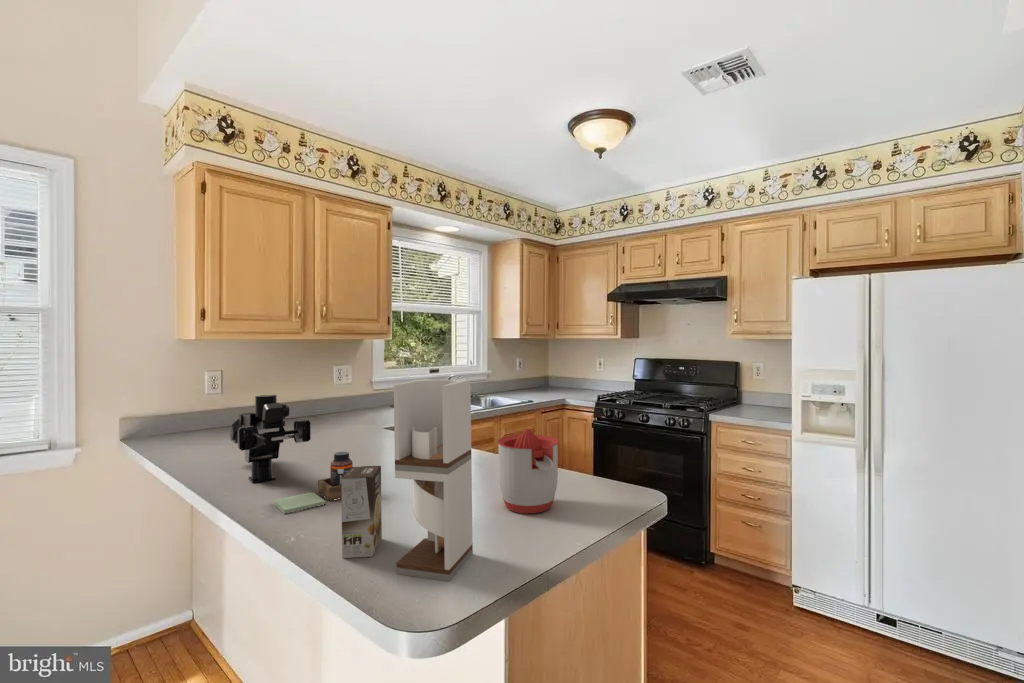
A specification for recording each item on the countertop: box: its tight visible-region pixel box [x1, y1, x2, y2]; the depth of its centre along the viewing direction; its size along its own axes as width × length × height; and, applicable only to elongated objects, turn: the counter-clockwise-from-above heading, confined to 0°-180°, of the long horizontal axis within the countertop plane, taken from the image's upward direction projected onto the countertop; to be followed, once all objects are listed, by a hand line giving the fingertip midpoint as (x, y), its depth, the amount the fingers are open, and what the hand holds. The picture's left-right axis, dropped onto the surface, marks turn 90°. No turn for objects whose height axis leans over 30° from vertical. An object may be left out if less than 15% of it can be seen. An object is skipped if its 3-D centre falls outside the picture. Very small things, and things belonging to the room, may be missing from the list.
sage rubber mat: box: [273, 491, 326, 515], centre depth 129 cm, size 10×10×1 cm
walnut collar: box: [317, 477, 342, 502], centre depth 138 cm, size 10×10×4 cm
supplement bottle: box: [330, 451, 354, 487], centre depth 138 cm, size 6×6×11 cm
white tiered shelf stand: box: [393, 378, 474, 582], centre depth 94 cm, size 11×11×35 cm
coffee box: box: [341, 465, 383, 559], centre depth 102 cm, size 9×6×16 cm
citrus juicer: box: [497, 428, 559, 515], centre depth 125 cm, size 16×17×20 cm
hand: (283, 438), depth 133 cm, fingers open, 9 cm apart
